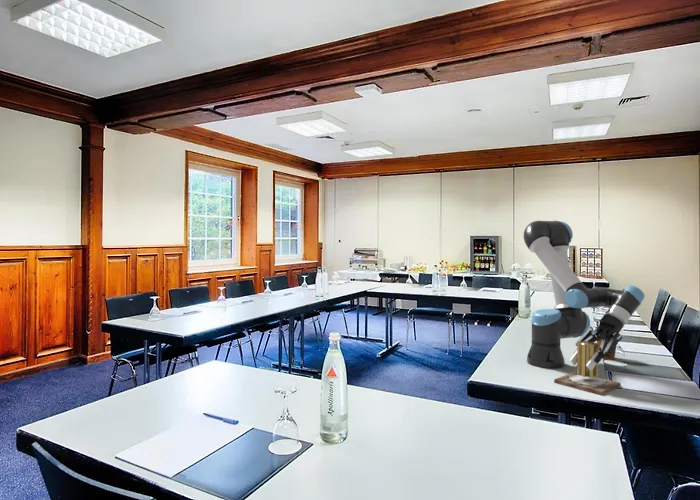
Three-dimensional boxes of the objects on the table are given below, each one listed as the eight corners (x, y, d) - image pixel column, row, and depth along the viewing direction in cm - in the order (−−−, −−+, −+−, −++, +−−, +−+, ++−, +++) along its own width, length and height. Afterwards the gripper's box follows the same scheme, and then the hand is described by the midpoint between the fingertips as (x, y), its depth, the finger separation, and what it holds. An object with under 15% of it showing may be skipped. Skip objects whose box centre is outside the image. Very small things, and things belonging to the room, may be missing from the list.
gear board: (554, 382, 169) (554, 378, 169) (574, 374, 178) (574, 370, 178) (601, 395, 155) (601, 390, 155) (620, 385, 165) (620, 381, 165)
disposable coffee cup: (610, 361, 198) (610, 334, 198) (590, 356, 206) (590, 330, 206) (623, 358, 202) (623, 332, 202) (602, 354, 211) (603, 329, 210)
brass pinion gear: (573, 374, 167) (574, 342, 167) (582, 371, 172) (582, 340, 171) (592, 378, 162) (593, 346, 161) (601, 375, 166) (601, 343, 166)
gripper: (643, 331, 161) (608, 379, 157) (598, 321, 180) (565, 364, 176) (632, 317, 160) (596, 366, 155) (587, 309, 179) (554, 352, 174)
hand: (580, 365), depth 166 cm, fingers closed on brass pinion gear, 7 cm apart
